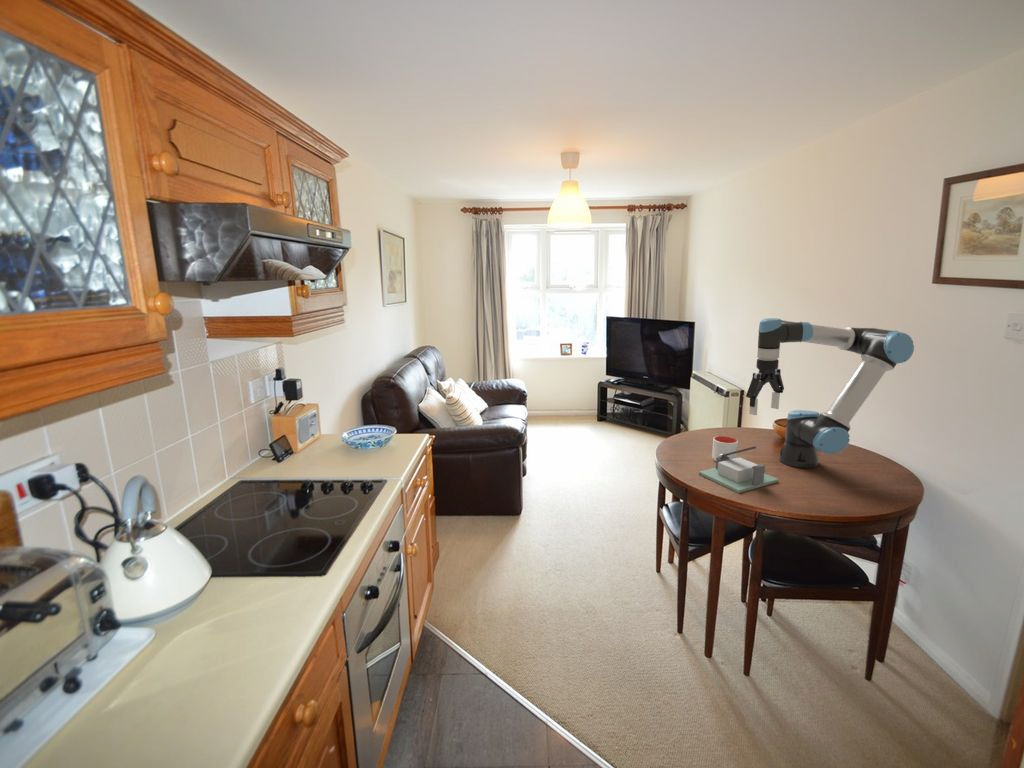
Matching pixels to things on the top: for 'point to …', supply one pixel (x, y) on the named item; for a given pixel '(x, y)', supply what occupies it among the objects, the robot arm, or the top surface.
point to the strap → (735, 452)
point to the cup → (724, 446)
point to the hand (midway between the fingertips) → (764, 411)
